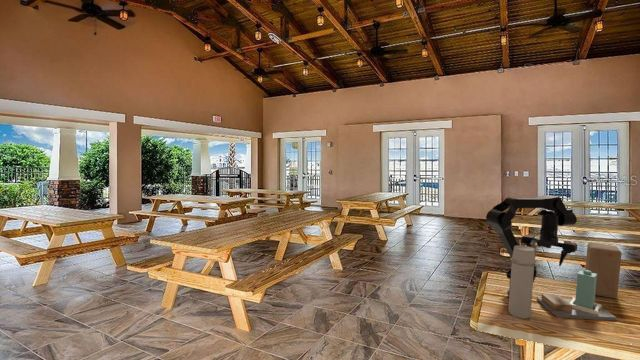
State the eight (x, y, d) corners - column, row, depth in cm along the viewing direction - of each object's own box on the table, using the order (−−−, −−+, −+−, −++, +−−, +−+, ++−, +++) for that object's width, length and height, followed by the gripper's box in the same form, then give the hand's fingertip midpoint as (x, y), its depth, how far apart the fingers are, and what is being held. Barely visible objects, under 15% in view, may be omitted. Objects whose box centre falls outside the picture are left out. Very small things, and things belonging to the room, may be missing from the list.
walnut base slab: (554, 310, 126) (554, 304, 126) (541, 299, 135) (541, 293, 134) (571, 311, 125) (572, 305, 125) (557, 300, 134) (558, 294, 134)
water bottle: (534, 321, 120) (539, 252, 118) (509, 318, 123) (514, 249, 120) (527, 309, 129) (532, 244, 127) (503, 306, 131) (508, 242, 129)
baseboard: (557, 317, 123) (557, 310, 123) (537, 299, 137) (537, 294, 137) (616, 320, 121) (617, 314, 121) (589, 302, 135) (590, 296, 135)
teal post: (574, 307, 129) (577, 270, 128) (577, 302, 132) (580, 267, 131) (591, 311, 125) (594, 274, 124) (594, 307, 129) (597, 271, 127)
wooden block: (617, 299, 138) (622, 251, 136) (586, 294, 143) (590, 247, 141) (612, 291, 147) (617, 245, 145) (583, 285, 152) (587, 241, 150)
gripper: (517, 225, 142) (515, 262, 143) (573, 233, 128) (569, 274, 130) (526, 221, 150) (523, 256, 151) (579, 229, 136) (575, 267, 138)
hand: (546, 263), depth 142 cm, fingers open, 9 cm apart
